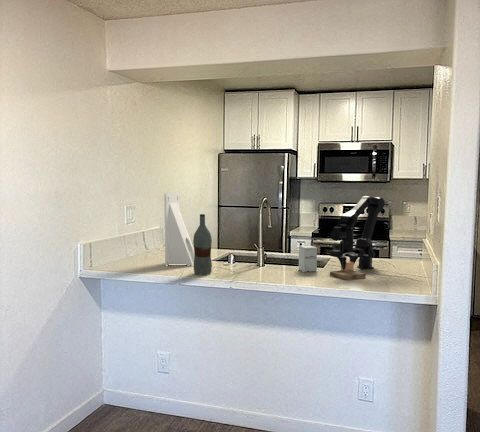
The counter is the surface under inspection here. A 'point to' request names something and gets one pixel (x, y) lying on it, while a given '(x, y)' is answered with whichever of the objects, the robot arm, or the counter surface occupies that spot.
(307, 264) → the supplement box
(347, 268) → the terracotta block
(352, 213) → the robot arm
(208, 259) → the bottle
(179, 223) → the white bracket plate
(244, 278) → the counter surface
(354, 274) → the walnut base
